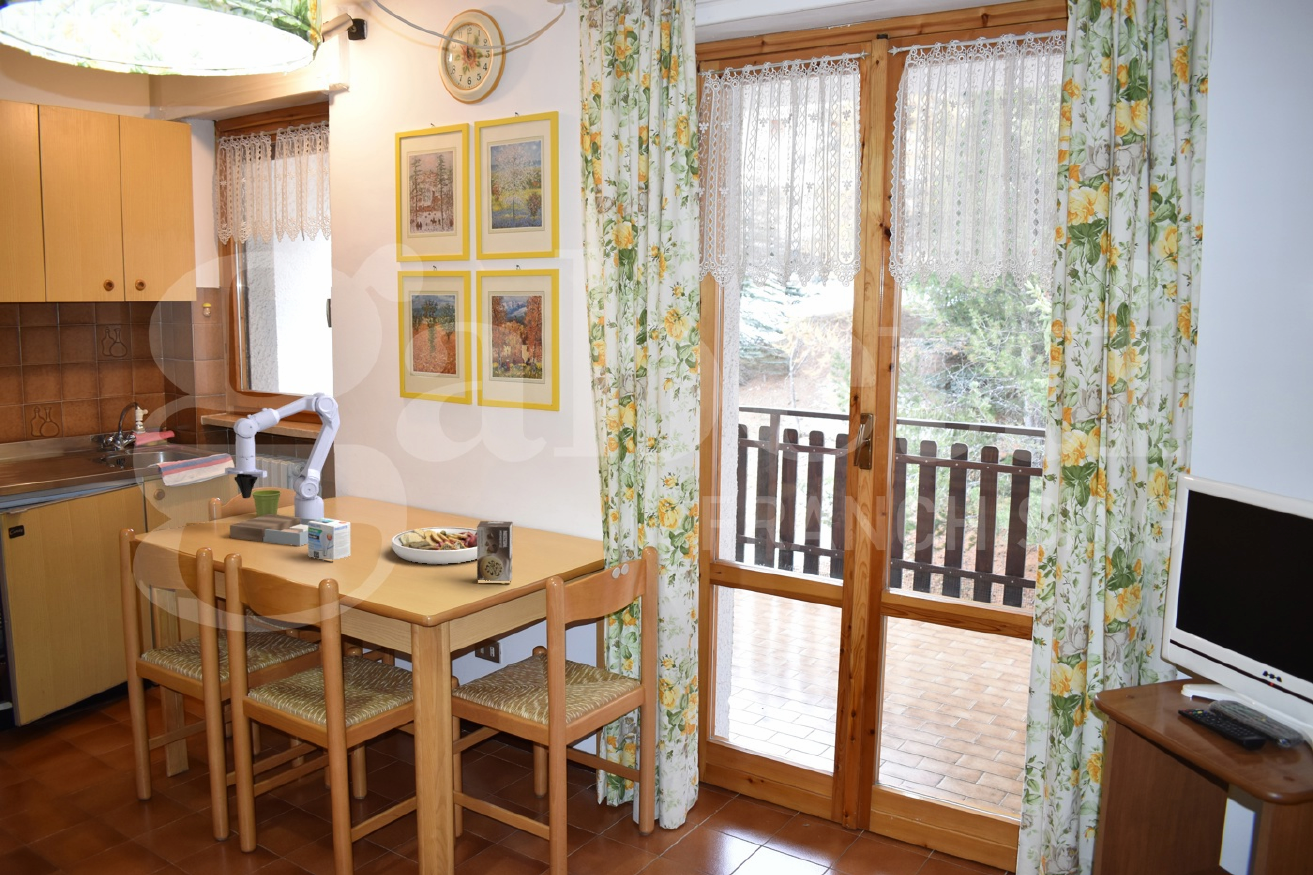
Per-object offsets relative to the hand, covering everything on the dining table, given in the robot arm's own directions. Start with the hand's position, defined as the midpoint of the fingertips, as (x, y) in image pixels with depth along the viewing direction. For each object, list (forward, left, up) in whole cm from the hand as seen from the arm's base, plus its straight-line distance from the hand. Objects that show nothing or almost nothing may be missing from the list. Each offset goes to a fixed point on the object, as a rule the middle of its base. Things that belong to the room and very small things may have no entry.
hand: (246, 497), depth 303 cm
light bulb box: (+18, +44, -11) cm, 48 cm away
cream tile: (-1, +20, -8) cm, 22 cm away
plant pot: (-17, -6, -11) cm, 21 cm away
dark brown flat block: (+2, +9, -10) cm, 14 cm away
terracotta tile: (+7, +21, -8) cm, 23 cm away
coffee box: (+20, +98, -11) cm, 100 cm away
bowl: (0, +71, -11) cm, 72 cm away
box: (+2, +22, -10) cm, 24 cm away
